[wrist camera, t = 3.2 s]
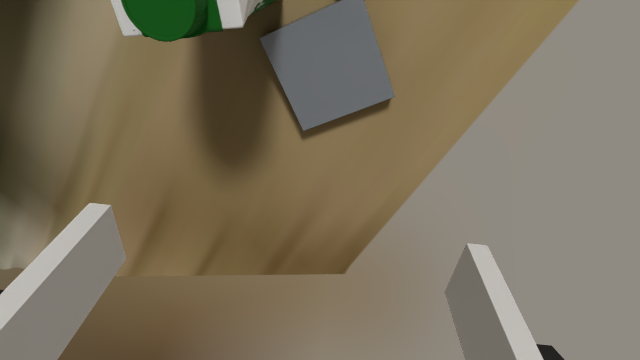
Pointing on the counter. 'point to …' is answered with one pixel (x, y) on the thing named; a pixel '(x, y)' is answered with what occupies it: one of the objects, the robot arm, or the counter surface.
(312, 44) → the slate tile
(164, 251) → the counter surface
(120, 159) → the counter surface
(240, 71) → the counter surface
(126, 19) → the soya milk
